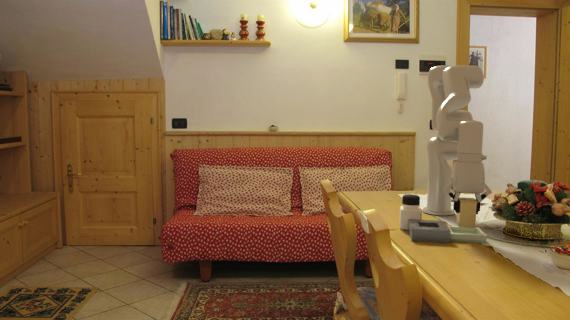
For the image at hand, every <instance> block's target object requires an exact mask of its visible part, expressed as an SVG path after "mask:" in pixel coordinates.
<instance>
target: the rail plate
mask: <svg viewBox="0 0 570 320" xmlns="http://www.w3.org/2000/svg"><path fill="white" fill-rule="evenodd" d="M448 226H449V225H447V223H446V222H445V221H444V220H434V219H421V220H416V219H408V230H407V231H408V235H409V237H410V241H411V242H425V243H438V244H439V243H441V244H442V243H443V244H451V241H450V237H451V230H450V229H449V228H448Z"/></svg>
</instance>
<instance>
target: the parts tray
mask: <svg viewBox="0 0 570 320" xmlns="http://www.w3.org/2000/svg"><path fill="white" fill-rule="evenodd" d="M447 226H448V228H449V229H450V230H451V237H450V242H456V243H457V242H460V243H461V242H462V243H463V242H464V243H472V244H473V243H474V244H475V243H476V244H487V238H488V237H487V235H486V234H485V233H484V231H483V230H482V229H481V228H480V227H476V226H475V228H465V227H459V226H458V225H457V226H456V225H455V226H453V225H447Z"/></svg>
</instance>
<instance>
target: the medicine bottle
mask: <svg viewBox="0 0 570 320" xmlns="http://www.w3.org/2000/svg"><path fill="white" fill-rule="evenodd" d="M401 198H402V200H401V201H402V203H401V205H400V206H399V221H398V222H399V230H405V231H406V230H407V231H408V219H416V220H422V217H423V216H422V215H423V214H422V212H423V210H421V206H420V205H421V203H420V202H421V197H420V196H419V195H417V194H413V193H407V194H406V193H405V194H403V195H402V197H401Z"/></svg>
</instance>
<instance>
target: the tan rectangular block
mask: <svg viewBox="0 0 570 320" xmlns="http://www.w3.org/2000/svg"><path fill="white" fill-rule="evenodd" d="M458 199H459V213H456V225H457V226H458V227H465V228H475V227H476V224H477V223H476V222H477V214H476V207H477V203H478V201H477V200H476V198H475V197H460V196H459V198H458Z"/></svg>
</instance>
